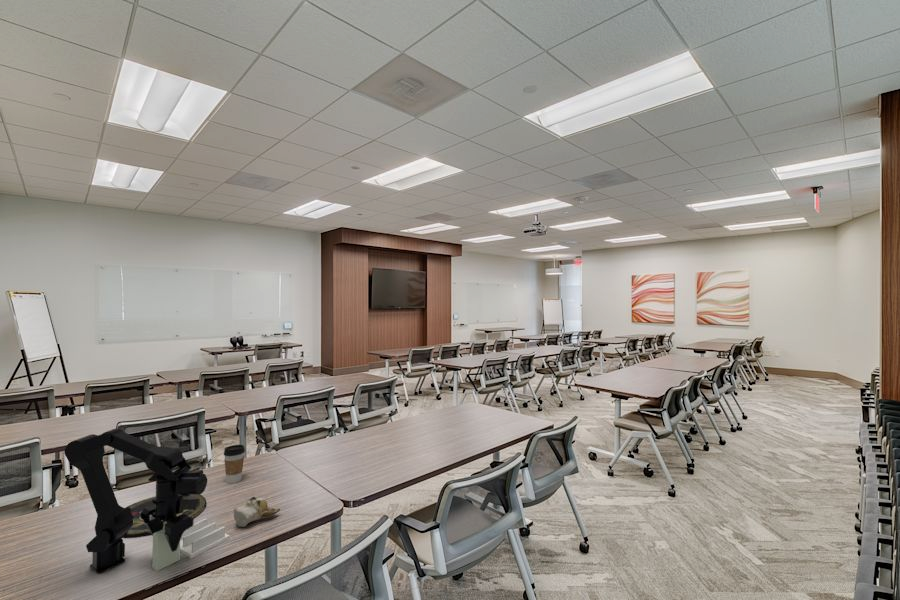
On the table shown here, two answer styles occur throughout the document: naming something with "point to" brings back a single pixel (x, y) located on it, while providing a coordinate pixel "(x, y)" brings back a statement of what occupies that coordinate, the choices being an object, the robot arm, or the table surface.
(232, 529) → the table surface
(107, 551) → the robot arm
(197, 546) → the dish rack
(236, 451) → the coffee cup
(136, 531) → the decorative plate
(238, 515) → the ceramic sculpture
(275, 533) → the table surface
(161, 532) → the sage tile
